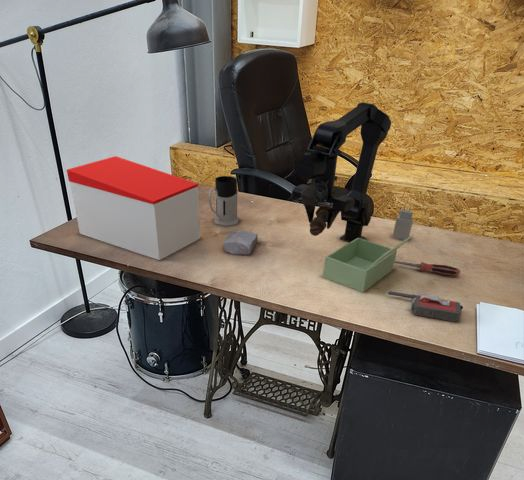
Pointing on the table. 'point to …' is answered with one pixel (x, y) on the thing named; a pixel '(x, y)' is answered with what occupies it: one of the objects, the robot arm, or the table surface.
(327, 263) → the carton
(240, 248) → the stone block
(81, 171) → the red-lidded white box
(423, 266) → the screwdriver
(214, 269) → the table surface
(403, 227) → the power adapter
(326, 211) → the bolt
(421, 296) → the walkie-talkie
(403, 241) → the flap
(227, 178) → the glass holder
